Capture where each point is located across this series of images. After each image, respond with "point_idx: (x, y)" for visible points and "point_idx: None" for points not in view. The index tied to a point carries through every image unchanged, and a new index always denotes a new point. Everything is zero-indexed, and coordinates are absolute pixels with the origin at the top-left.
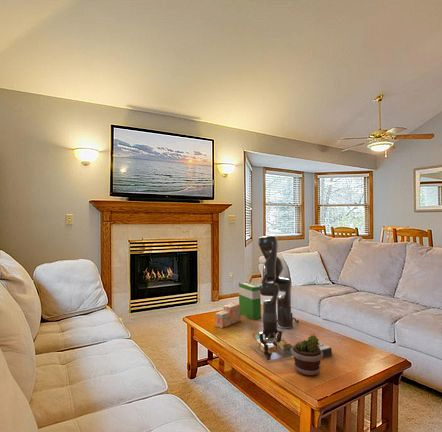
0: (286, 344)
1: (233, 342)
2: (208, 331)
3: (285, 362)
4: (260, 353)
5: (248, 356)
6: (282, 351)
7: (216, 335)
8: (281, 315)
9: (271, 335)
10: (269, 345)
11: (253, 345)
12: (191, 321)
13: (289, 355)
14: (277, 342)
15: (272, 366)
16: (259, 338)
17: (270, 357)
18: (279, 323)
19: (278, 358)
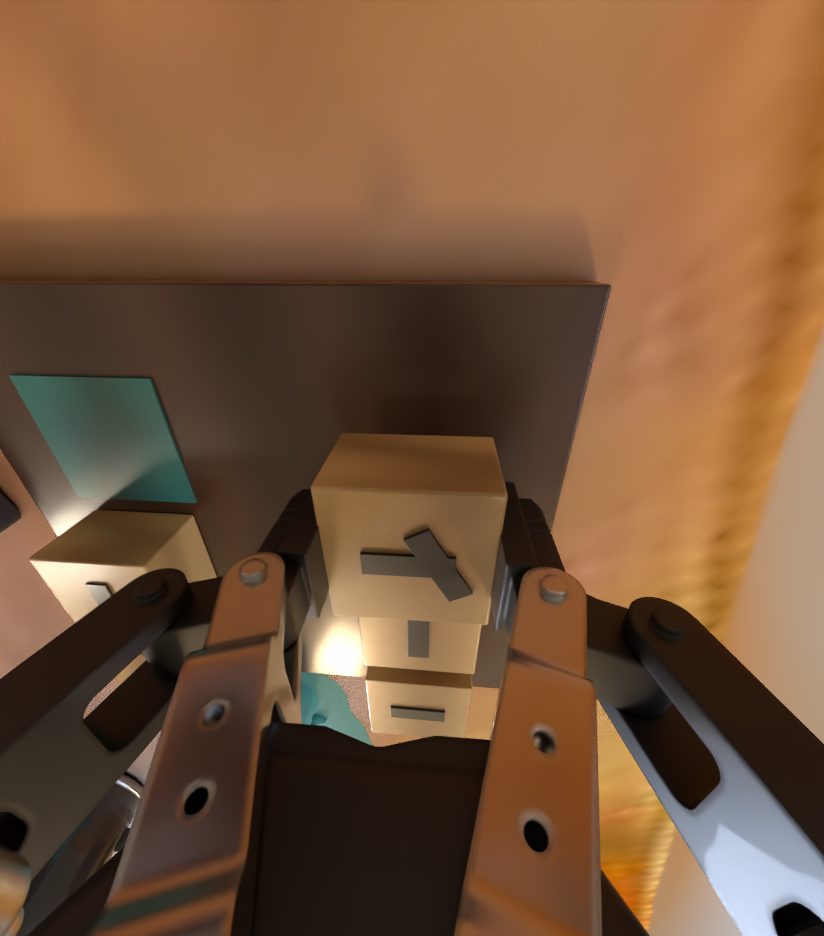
0: (99, 558)
1: (609, 752)
2: (651, 865)
3: (291, 168)
4: (550, 521)
5: (715, 526)
6: (223, 480)
7: (646, 832)
8: (31, 919)
9: (345, 898)
10: (436, 563)
11: (496, 675)
12: (645, 926)
13: (147, 339)
14: (227, 569)
15: (637, 56)
16: (351, 734)
17: (488, 371)
18: (114, 819)
19: (374, 292)
